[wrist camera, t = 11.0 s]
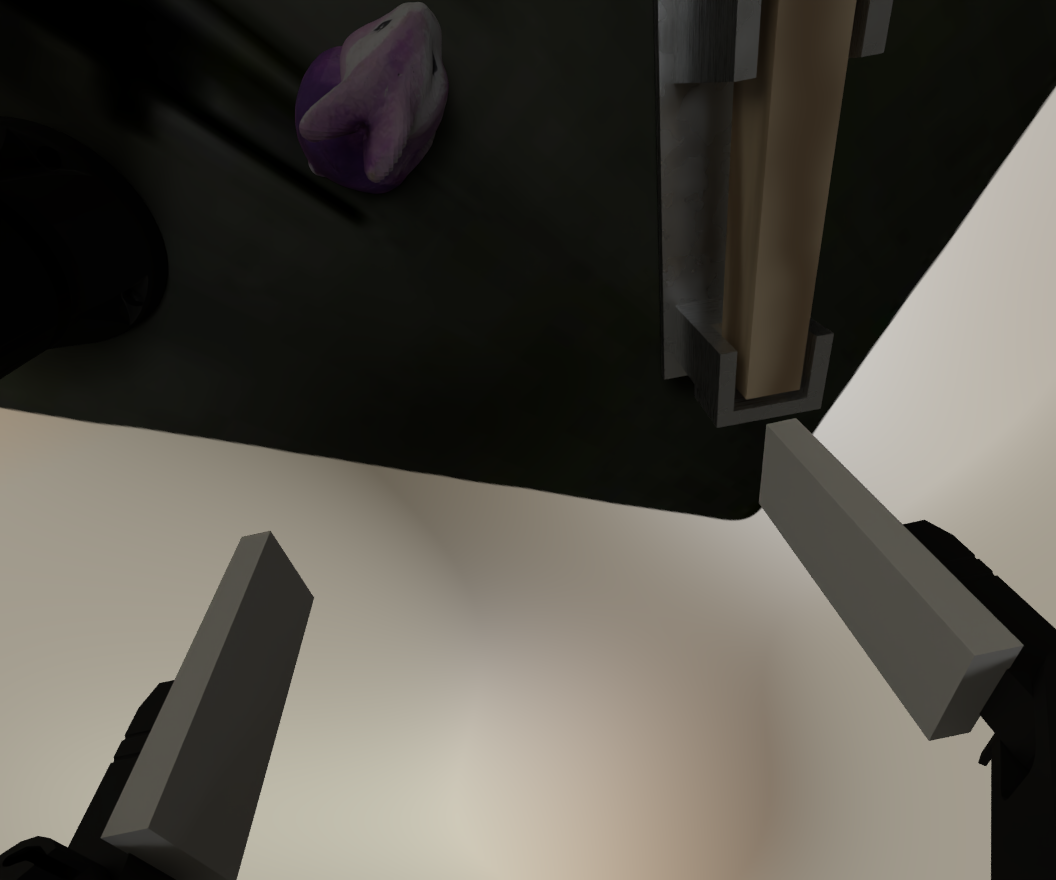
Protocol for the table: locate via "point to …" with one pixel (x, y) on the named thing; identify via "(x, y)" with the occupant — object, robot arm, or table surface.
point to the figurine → (374, 101)
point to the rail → (781, 187)
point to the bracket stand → (717, 195)
